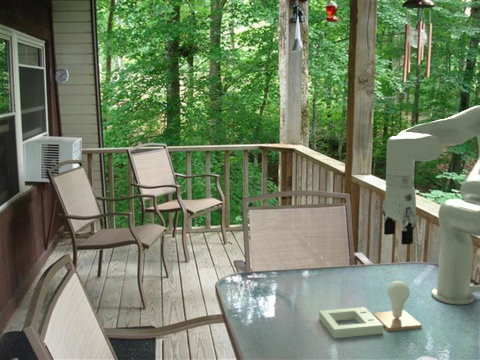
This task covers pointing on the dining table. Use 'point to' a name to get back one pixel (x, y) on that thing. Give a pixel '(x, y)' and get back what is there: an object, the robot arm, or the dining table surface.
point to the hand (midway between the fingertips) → (397, 238)
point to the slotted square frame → (361, 315)
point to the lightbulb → (398, 296)
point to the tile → (397, 321)
